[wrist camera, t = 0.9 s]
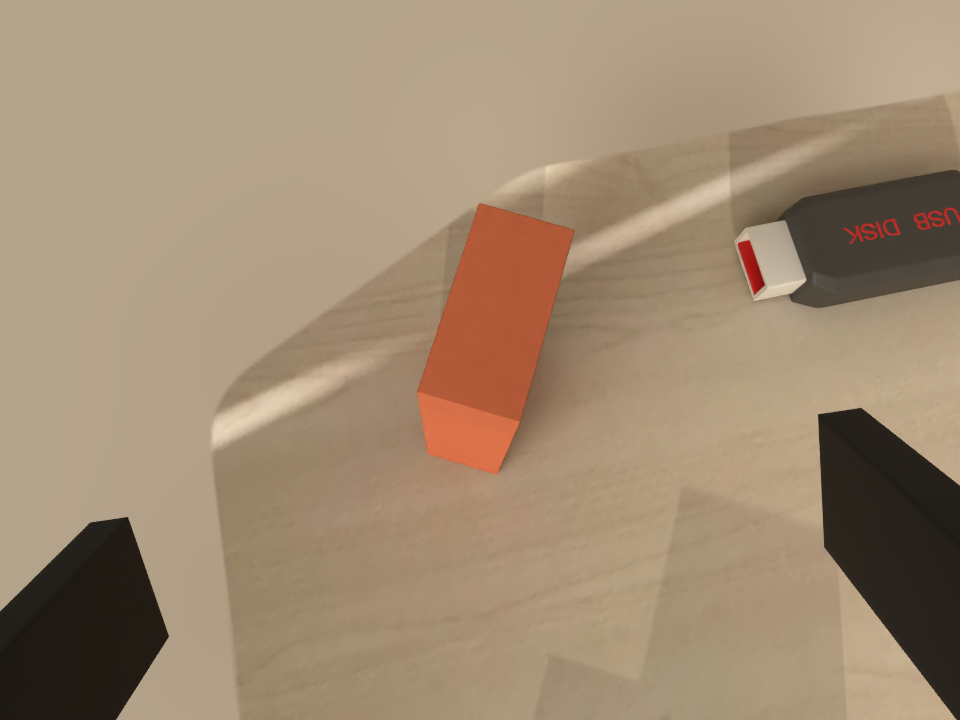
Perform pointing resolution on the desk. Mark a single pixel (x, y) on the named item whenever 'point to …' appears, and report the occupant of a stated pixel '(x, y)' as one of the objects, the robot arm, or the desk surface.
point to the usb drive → (858, 242)
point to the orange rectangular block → (491, 336)
